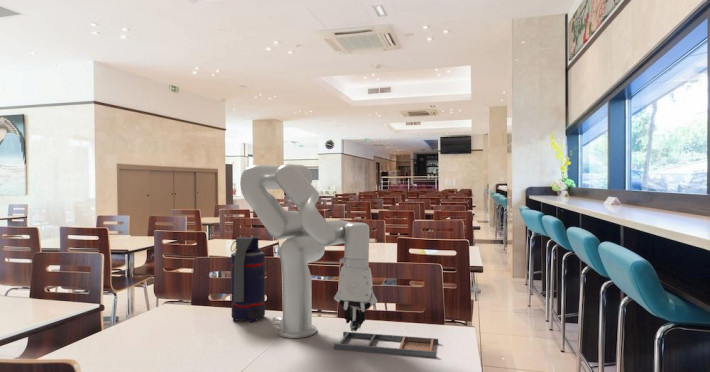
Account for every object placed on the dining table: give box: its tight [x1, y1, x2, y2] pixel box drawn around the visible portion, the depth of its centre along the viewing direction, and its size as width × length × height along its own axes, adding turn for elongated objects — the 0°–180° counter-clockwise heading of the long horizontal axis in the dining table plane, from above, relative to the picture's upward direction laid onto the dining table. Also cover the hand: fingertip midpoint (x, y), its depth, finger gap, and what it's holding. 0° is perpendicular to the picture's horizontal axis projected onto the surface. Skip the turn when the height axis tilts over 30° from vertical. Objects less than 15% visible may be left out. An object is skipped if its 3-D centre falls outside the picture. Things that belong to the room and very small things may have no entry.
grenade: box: [230, 236, 266, 324], centre depth 159 cm, size 14×12×30 cm
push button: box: [348, 301, 362, 332], centre depth 134 cm, size 7×5×10 cm
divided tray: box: [333, 331, 439, 359], centre depth 131 cm, size 30×11×2 cm, turn 76°
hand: (354, 322), depth 134 cm, fingers closed on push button, 3 cm apart
